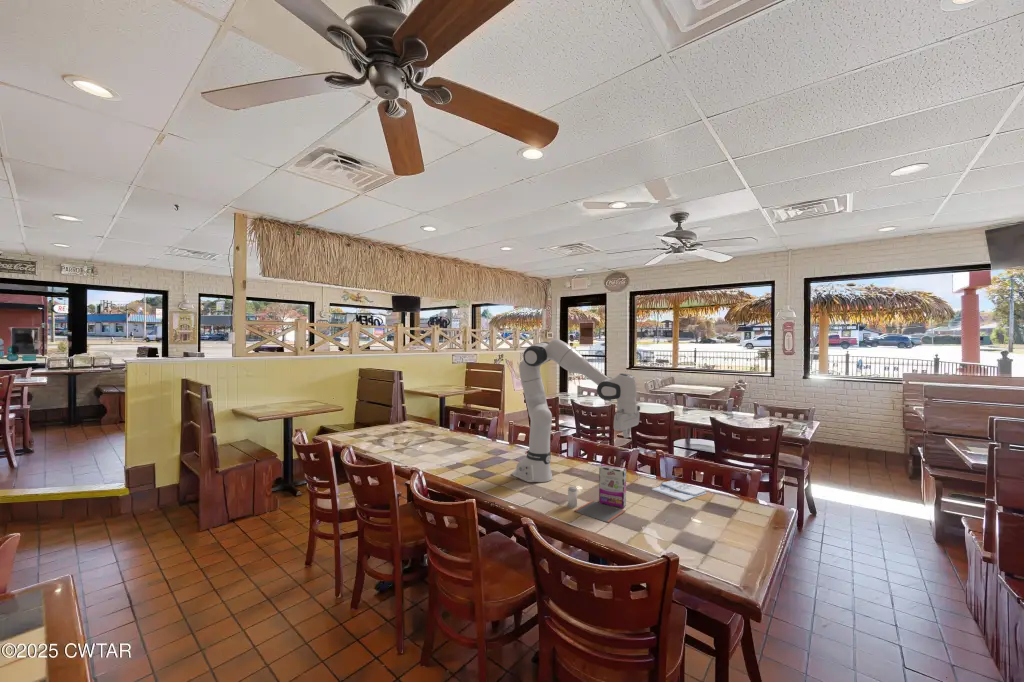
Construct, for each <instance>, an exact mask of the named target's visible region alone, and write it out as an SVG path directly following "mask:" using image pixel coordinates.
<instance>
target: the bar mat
mask: <svg viewBox="0 0 1024 682" xmlns="http://www.w3.org/2000/svg"><path fill="white" fill-rule="evenodd" d="M625 512H626V510H625V509H622V508H618V507H615V506H610V505H605V504H601V503H599V501H598V502H597V501H595V500H591V501H588V502H586V503H585V504H583V505H582V506H579V507H578V508H576V509H575V510H574V513H577V514H581V515H584V516H586V517H589V518H593V519H595V520H599V521H601V522H605V523H607V524H609V523H611V522H612V521H614V520H615V519H617V518H618V517H620V516H622V515H623V514H624V513H625Z"/></svg>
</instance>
